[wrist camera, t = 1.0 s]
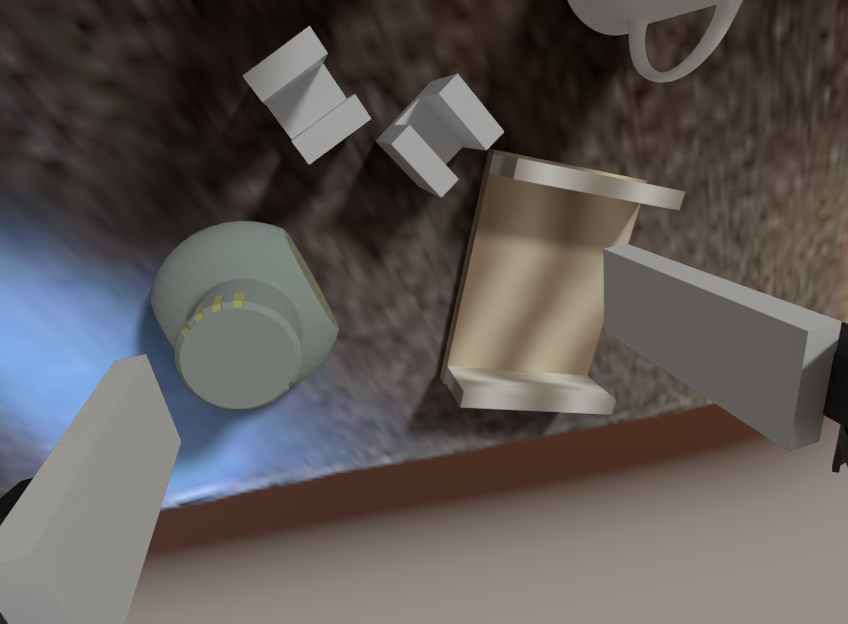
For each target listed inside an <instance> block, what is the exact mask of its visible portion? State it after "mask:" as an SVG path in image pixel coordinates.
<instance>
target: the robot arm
mask: <svg viewBox="0 0 848 624" xmlns="http://www.w3.org/2000/svg"><path fill="white" fill-rule="evenodd" d="M603 259H604V331H606V332H607V333H609V334H610V335H612V336H613V337H615V338H616V339H618V340H620V341H621V342H623V343H624V344H626V345H627V346H629V347H630V348H632V349H633V350H635V351H636V352H638V353H639V354H641V355H642V356H644V357H645V358H647V359H649V360H650V361H652V362H653V363H655V364H656V365H658V366H659V367H661V368H662V369H664V370H665V371H667V372H668V373H670V374H671V375H673V376H674V377H676V378H678V379H679V380H681V381H682V382H684V383H685V384H687V385H688V386H690V387H691V388H693V389H694V390H696V391H697V392H699V393H700V394H702V395H703V396H705V397H706V398H708V399H710V400H711V401H713V402H714V403H716V404H717V405H719V406H720V407H722V408H723V409H725V410H726V411H728V412H729V413H731V414H732V415H734V416H736V417H737V418H739V419H740V420H742V421H743V422H745V423H746V424H748V425H749V426H751V427H753V428H754V429H755V430H757V431H759V432H760V433H761V434H763V435H765V436H766V437H768V438H769V439H771V440H772V441H774V442H775V443H777V444H778V445H780V446H781V447H783V448H784V449H786V450H787V451H791V450H794V449H798V448H800V447H803V446H806V445H809V444H812V443H815V442H818V441H819V440H820V434H821V429H822V423H823V418H824V415H825V416H826V417H828V418H830V419H832V420H834V421H836V422H837V423H839V424H841V425H840V430H839V435H838V440H837V445H836V450H835V455H834V459H833V464H832V472H838V473H839V470H840V465H842V464H844V463H846V464H847V466H848V324H847V323H844V322H841V321H839V320H836V319H833V318H830V317H827V316H825V315H822V314H819V313H816V312H814V311H811V310H808V309H805V308H803V307H800V306H797V305H794V304H792V303H789V302H786V301H783V300H780V299H778V298H775V297H772V296H769V295H767V294H764V293H761V292H758V291H756V290H753V289H750V288H747V287H744V286H742V285H739V284H736V283H733V282H731V281H728V280H725V279H722V278H720V277H717V276H714V275H711V274H709V273H706V272H703V271H700V270H697V269H695V268H692V267H689V266H686V265H684V264H681V263H678V262H675V261H673V260H670V259H667V258H664V257H662V256H659V255H656V254H653V253H650V252H648V251H645V250H642V249H639V248H637V247H634V246H631V245H628V244H622V245H617V246H613V247H609V248H604V249H603ZM180 444H181V439H180V437H179V434H178V432H177V429H176V427H175V424H174V422H173V420H172V417H171V415H170V412H169V410H168V407H167V405H166V402H165V400H164V397H163V395H162V392H161V390H160V387H159V385H158V382H157V380H156V377H155V375H154V372H153V370H152V367H151V365H150V362H149V360H148V358H147V355H146V354H144V355H140V356H136V357H131V358H127V359H123V360H118V361H114V362H113V364H112V365H111V367H110V368H109V370H108V371H107V373H106V374H105V375H104V377H103V378H102V380H101V381H100V383H99V384H98V386H97V387H96V388H95V390H94V391H93V393H92V394H91V396H90V397H89V399H88V400H87V401H86V403H85V404H84V406H83V407H82V409H81V410H80V412H79V413H78V414H77V416H76V417H75V419H74V420H73V422H72V423H71V425H70V426H69V427H68V429H67V430H66V432H65V433H64V435H63V436H62V438H61V439H60V440H59V442H58V443H57V445H56V446H55V448H54V449H53V451H52V452H51V453H50V455H49V456H48V458H47V459H46V461H45V462H44V464H43V465H42V466H41V468H40V469H39V471H38V472H37V474H36V475H35V477H34V478H30V479H26V480H23V481H20V482H19V483H18V484H17V485H16V486H14V487H13V488H12V489H11V490H10V491H8V492H7V493H6V494H5V495H4V496H2V497H1V498H0V624H125V620H126V617H127V614H128V611H129V608H130V604H131V601H132V598H133V595H134V592H135V589H136V586H137V582H138V579H139V576H140V572H141V569H142V566H143V563H144V560H145V557H146V553H147V550H148V547H149V544H150V540H151V537H152V534H153V531H154V528H155V525H156V521H157V518H158V515H159V512H160V509H161V505H162V502H163V499H164V496H165V493H166V489H167V486H168V483H169V480H170V476H171V473H172V470H173V467H174V464H175V460H176V457H177V454H178V451H179V448H180Z"/></svg>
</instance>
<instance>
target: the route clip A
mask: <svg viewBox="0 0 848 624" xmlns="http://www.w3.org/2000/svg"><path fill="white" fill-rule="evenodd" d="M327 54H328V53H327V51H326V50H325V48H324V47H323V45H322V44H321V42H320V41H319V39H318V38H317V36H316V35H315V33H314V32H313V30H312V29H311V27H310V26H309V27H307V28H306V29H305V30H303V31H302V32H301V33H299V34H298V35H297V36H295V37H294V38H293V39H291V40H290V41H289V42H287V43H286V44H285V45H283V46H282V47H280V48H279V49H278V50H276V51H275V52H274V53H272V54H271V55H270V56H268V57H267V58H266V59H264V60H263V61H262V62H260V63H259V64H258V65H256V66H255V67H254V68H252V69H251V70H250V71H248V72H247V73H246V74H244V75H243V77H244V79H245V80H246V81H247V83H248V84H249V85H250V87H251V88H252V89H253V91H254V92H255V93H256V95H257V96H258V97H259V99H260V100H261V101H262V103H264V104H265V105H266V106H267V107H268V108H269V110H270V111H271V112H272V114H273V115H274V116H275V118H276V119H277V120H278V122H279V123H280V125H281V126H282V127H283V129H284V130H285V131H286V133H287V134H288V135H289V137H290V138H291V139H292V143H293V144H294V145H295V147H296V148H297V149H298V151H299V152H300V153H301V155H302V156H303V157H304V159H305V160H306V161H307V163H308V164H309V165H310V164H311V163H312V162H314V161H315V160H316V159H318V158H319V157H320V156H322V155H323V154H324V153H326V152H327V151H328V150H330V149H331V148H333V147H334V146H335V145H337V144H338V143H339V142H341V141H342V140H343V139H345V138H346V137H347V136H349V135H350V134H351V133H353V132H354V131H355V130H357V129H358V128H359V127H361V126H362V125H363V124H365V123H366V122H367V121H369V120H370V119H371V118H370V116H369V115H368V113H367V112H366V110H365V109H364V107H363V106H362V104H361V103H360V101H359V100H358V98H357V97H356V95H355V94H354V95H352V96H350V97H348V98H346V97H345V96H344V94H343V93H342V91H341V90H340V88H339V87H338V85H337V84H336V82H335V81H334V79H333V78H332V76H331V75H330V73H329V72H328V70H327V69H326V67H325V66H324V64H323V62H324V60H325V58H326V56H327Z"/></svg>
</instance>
